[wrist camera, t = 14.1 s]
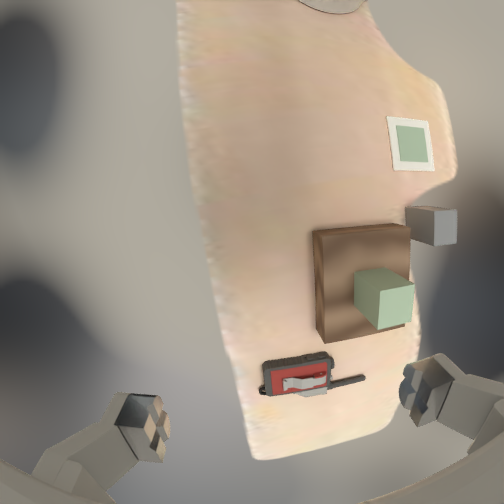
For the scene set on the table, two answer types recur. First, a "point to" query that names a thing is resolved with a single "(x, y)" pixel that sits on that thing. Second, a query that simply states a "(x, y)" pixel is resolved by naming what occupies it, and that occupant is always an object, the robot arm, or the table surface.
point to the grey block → (432, 224)
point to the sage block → (383, 297)
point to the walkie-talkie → (301, 375)
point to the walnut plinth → (342, 274)
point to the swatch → (410, 144)
